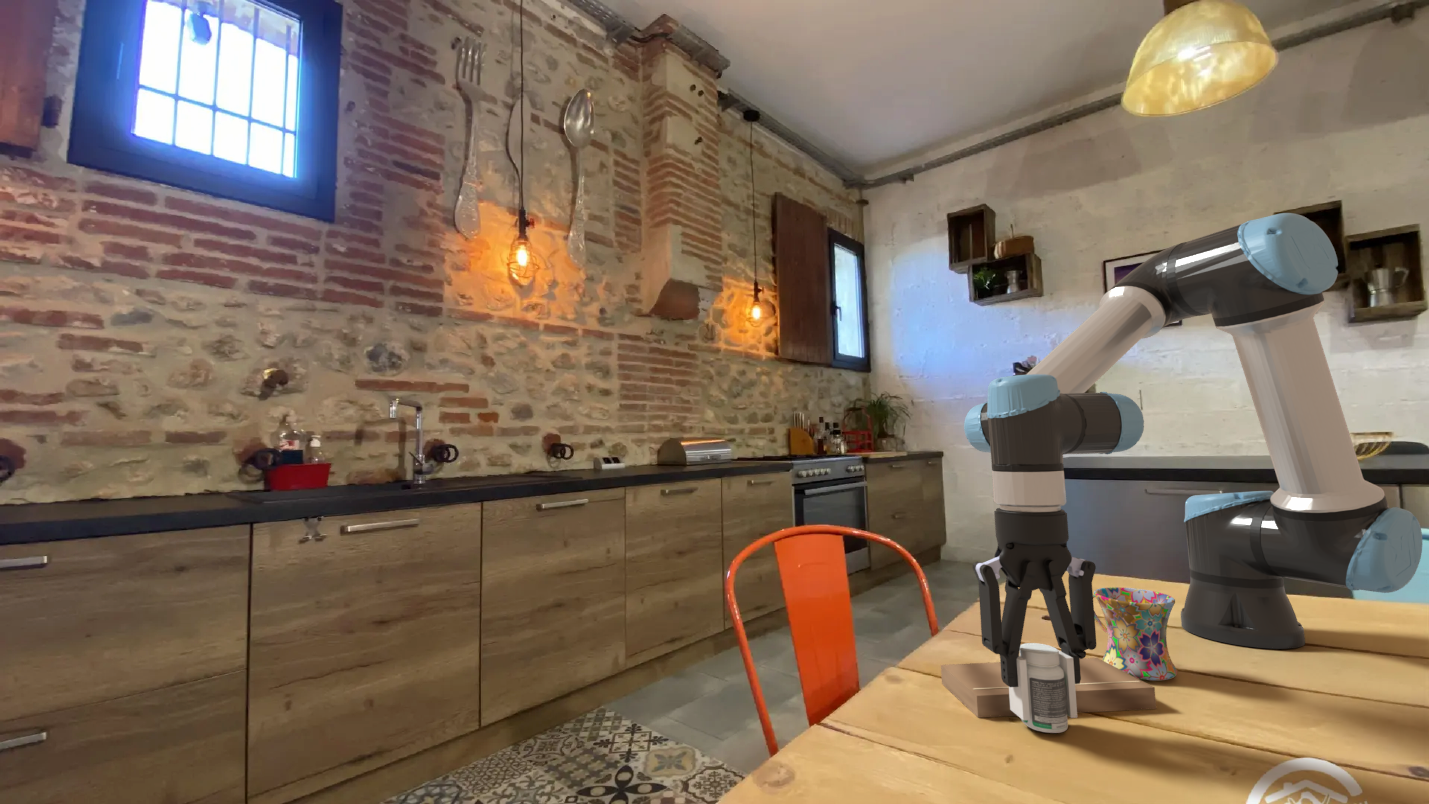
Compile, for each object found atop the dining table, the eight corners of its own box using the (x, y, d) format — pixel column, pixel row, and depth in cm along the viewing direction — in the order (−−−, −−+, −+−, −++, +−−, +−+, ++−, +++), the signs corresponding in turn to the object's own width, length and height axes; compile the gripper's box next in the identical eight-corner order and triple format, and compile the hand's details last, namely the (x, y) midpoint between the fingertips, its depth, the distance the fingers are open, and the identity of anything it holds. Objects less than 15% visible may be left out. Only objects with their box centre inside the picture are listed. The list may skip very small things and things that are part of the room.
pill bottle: (1078, 729, 66) (1072, 652, 66) (1046, 738, 64) (1041, 658, 65) (1041, 712, 70) (1036, 639, 71) (1011, 719, 68) (1006, 645, 69)
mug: (1199, 680, 79) (1192, 599, 80) (1146, 690, 76) (1139, 606, 77) (1116, 651, 90) (1110, 581, 91) (1067, 659, 88) (1062, 586, 89)
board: (1098, 676, 81) (1097, 657, 81) (1156, 708, 71) (1154, 686, 71) (941, 683, 80) (940, 664, 80) (977, 717, 70) (976, 695, 70)
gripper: (1081, 501, 73) (1096, 695, 71) (941, 506, 72) (952, 703, 70) (1126, 508, 66) (1143, 725, 64) (970, 513, 65) (983, 733, 63)
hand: (1043, 713), depth 67 cm, fingers closed on pill bottle, 5 cm apart
